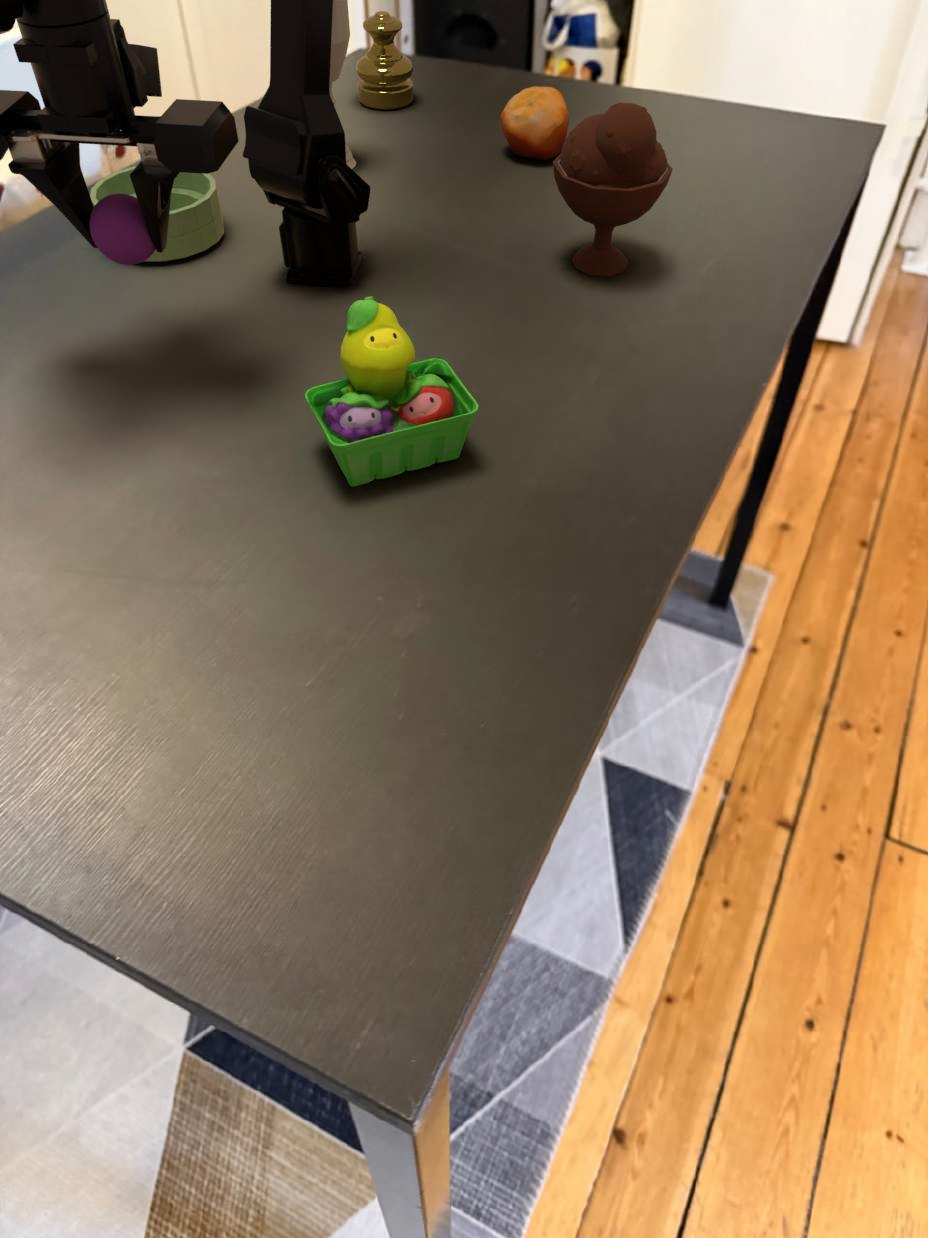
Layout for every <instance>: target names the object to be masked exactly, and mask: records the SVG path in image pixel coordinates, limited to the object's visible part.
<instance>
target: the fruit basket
mask: <svg viewBox="0 0 928 1238" xmlns="http://www.w3.org/2000/svg"><path fill="white" fill-rule="evenodd" d="M346 319H347V321H346V333H345V335H344V337H343V340H342V342H341V346H340V364H341V366H342V369H343V371H344V373H345V375H346V376H347V378H343V379H339V380H336V381H331V382H328V383H325V384H321V385H317V386H313V387H311V388H309V389H307V390H306V391H305V394H304V398H305V401H306V403H307V405H308V407H309V410H310V412H311V413H312V414H313V416H314V418H315V419H316V422H317V423H318V426H319V428H320V430H321V432H322V434H323V436H324V438H325V440H326V443H327V445H328V447H329V449H330V451H331V453H332V454H333V456H334V458H335V460H336V462H337V464H338V467H339V468H340V470H341V471H342V474H343V475H344V476H345V478H346V480H347V483H348V485H349V486H350V487H358V486H361V485H365V484H368V483H371V482H372V481H374V480H384V479H387V478H391V477H394V476H398V475H401V474H402V473H405V472H411V471H417V470H421V469H423V468H428V467H430V466H433V465H435V464H437V463H445V462H449V461H453V460H457V459H459V458H460V456H461V452H462V449H463V447H464V443H465V441H466V438H467V436H468V432H469V430H470V427H471V424H472V422H473V420H475V417H476V415H477V413H478V410H479V403H478V402H477V400H476V399H475V398H474V397H473V396H472V394H471V393H470V392H469V390H468V389H467V388H466V386H465V385H464V384H463V382H462V381H461V380H460V378H459V377H458V375H457V374H456V372H455V371H454V370H453V369H452V367H451V365H449V363H448V362H447V361H446V360H445V359H442V358H437V357H436V358H435V357H432V358H428V359H424V360H420V361H415V360H416V351H415V347H414V344H413V342H412V340H411V338H410V336H409V334H407V332H406V331H405V330H404V328H403V327H402V326H401V325H400V323H399V321H398V319H397V317H396V314H395V312H394V311H393V310H392V309H391V308H390V307H389V306H387V305H385V304H383V303H381V302H378V301H376V300H375V299H374V297H373V296H371V295H370V296H366V297H364V298H363V299H359V300H356V301H354V302H353V303H351V305H350V306H349V308H348V311H347V318H346ZM414 361H415V362H414Z"/></svg>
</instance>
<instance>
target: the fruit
mask: <svg viewBox="0 0 928 1238" xmlns="http://www.w3.org/2000/svg"><path fill="white" fill-rule="evenodd" d="M499 116H500V123H501V129H502V132H503V134H504V137H505V139H506V141H507V143H508V146H509V148H510V149H511V151H512V152H513V154H515V155H516V156H519V157H523V158H528V159H536V160H542V161H547V160H551V159H553V158H555V157H556V156H558V155H559V154H561V151H562V147H563V143H564V142H565V140H566V138H567V136H568V135H567V134H568V130H569V123H570V114H569V110H568V107H567V104H566V101H565V98H564V96H563V94H562V93H561V92H560V91H559V90H558V89H556V88H555V87H553V86H538V85H537V86H535V85H533V86H531V87H525V88H523V89H522V90H521V91H520V92H518V93H516V94H514V95H513V96H512V97H511V98H510V99H509V100H508V101H507V103H506V105H504V108H503V110H502V112H501V114H500V115H499Z"/></svg>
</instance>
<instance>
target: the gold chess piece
mask: <svg viewBox="0 0 928 1238" xmlns="http://www.w3.org/2000/svg"><path fill="white" fill-rule="evenodd" d="M362 28H363V30H364V31H365V32H366V33H367V34H369V35H370V38H371V39H372V44H371V46H370V47H369V49H368V50H367V51H366V52H365V55H363V56H362V57H360V58H359V59H358V60H357V62H356V64H355V65H356V66H355V68H356V70H355V71H356V74H357V76H358V78H359V80H358V81H357V90H358V91H357V92H358V101H359V102H360V103H361V104H362V105H363V106H365V107H367V108H370V109H374V110H380V111H381V110H383V111H392V110H399V109H402V108H406V107H407V106H409V105H410V104H412V102H413V101H414V81H413V80H412V79H411V77H412V75H413V72H414V71H413V70H414V64H413V62H412V61H411V60H410V58H409V57H407V55H404V54H403V52H402V50H400V49H399V47H397V45H396V43H395V37H396V36H397V34H398V33H399V32H400V31H401V30H402V28H403V21H402V20H401V19H399V18H398V17H396V16H394V15H392V14H390V13H389V12H388V11H384V10H379V11H376V12H375V13H374V14H373V15H370V16H368V18H366V19H365V20H363V22H362Z"/></svg>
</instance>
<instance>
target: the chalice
mask: <svg viewBox="0 0 928 1238" xmlns="http://www.w3.org/2000/svg"><path fill="white" fill-rule="evenodd" d="M348 1H349V0H333V14H332V37H331V60H330V83H329V91H330V97H331V99H332V102H333V104H334V105H336V104H337V103H336V102H337V100H336V99H335V98H334V94H333V83H334V82H336V81H338V80H339V79H340V75H341V73H342V69H343V67H344V63H345V60H346V56H347V54H348V47H349V43H350V38H351V29H350V16H349V15H350V14H349V2H348ZM345 148H346V164H347V165H348V166H349V167H350V168H351V169H352V170H354V168H355V167H356V165H357V161H356V159H355V158H354V156H353V153H352V151H351V149H350V146H349V144H348V143H347V142H346V141H345Z"/></svg>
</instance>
